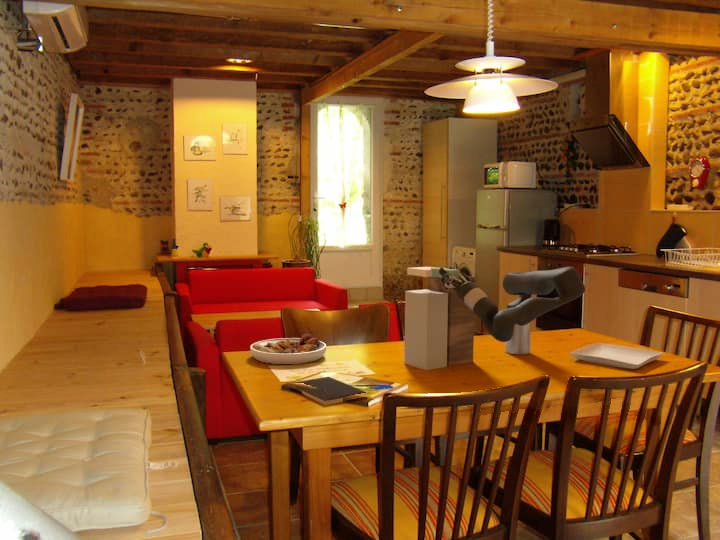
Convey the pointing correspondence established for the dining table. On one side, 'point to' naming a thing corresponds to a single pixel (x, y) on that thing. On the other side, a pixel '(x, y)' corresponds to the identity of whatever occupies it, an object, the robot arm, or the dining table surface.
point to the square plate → (616, 355)
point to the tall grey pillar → (426, 329)
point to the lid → (431, 272)
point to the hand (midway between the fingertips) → (444, 269)
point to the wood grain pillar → (456, 325)
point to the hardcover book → (328, 390)
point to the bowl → (288, 350)
